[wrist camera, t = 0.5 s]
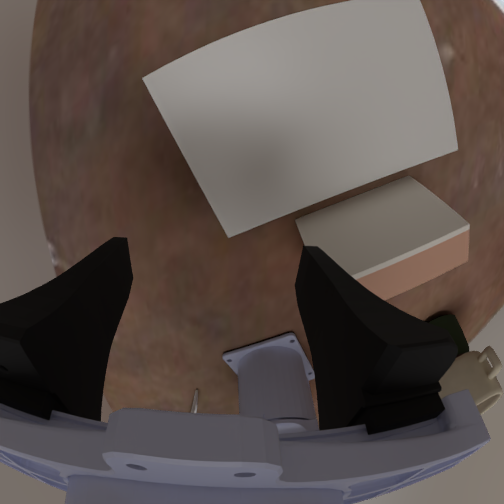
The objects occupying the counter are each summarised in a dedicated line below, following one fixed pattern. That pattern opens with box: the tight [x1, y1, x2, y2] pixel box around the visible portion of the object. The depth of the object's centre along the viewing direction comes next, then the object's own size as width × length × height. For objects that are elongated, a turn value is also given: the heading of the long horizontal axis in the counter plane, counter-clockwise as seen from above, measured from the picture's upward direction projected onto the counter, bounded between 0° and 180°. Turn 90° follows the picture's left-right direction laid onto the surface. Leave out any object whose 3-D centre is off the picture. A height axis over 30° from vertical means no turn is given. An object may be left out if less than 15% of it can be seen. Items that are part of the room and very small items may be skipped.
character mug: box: [429, 314, 503, 415], centre depth 27 cm, size 11×7×13 cm, turn 169°
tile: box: [295, 176, 469, 300], centre depth 19 cm, size 3×10×8 cm, turn 113°
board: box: [142, 0, 458, 238], centre depth 18 cm, size 13×20×1 cm, turn 113°
